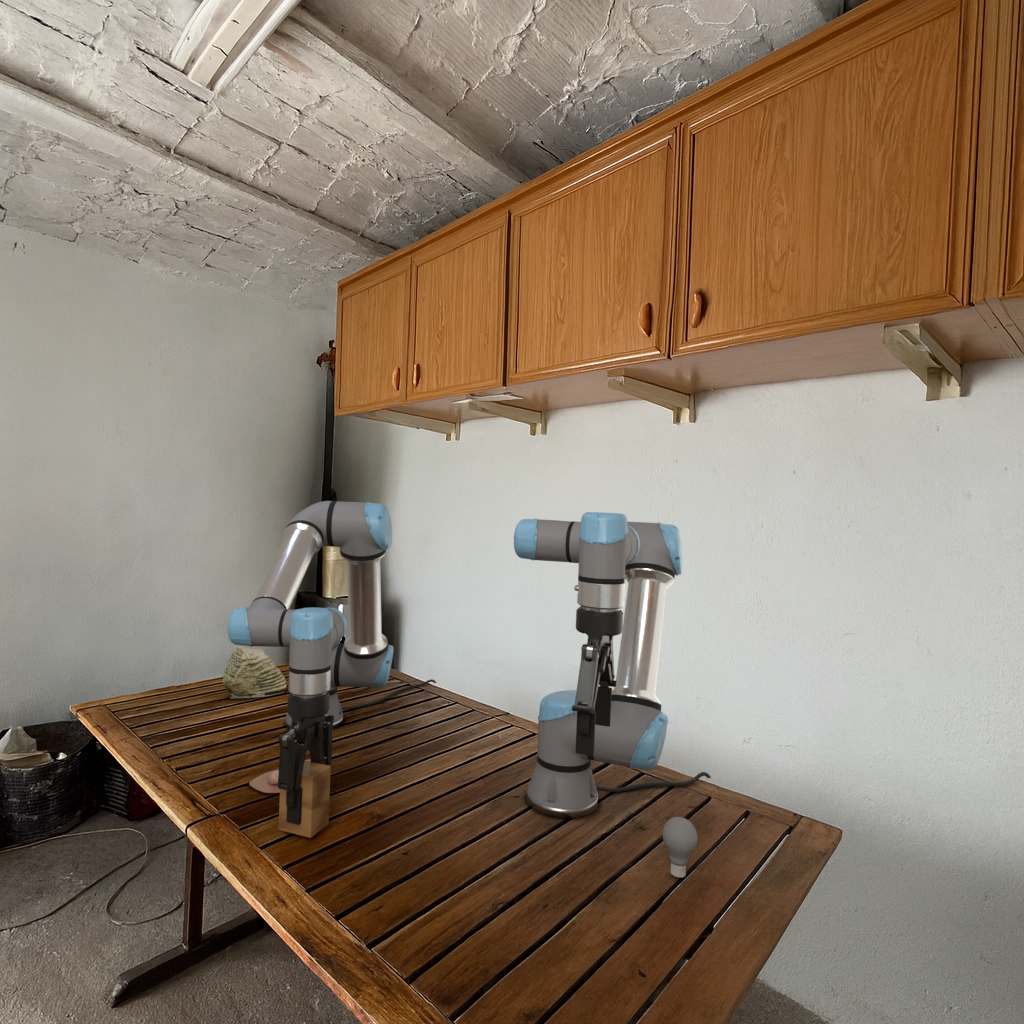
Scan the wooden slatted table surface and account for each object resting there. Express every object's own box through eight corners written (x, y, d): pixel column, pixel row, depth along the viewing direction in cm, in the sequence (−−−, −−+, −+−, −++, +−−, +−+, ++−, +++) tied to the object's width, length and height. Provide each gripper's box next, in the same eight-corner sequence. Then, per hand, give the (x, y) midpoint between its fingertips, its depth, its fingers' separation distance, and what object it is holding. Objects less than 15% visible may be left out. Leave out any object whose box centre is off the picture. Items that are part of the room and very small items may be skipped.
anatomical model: (241, 770, 135) (272, 750, 146) (240, 789, 135) (271, 767, 146) (297, 779, 132) (324, 757, 144) (297, 798, 132) (324, 775, 144)
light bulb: (655, 865, 113) (658, 810, 113) (688, 865, 114) (691, 810, 114) (666, 886, 107) (669, 827, 107) (701, 886, 108) (704, 827, 108)
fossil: (218, 695, 195) (220, 647, 195) (278, 685, 208) (279, 640, 207) (228, 703, 189) (230, 653, 188) (289, 692, 201) (290, 645, 201)
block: (297, 816, 123) (299, 759, 123) (328, 823, 120) (330, 765, 120) (278, 829, 118) (280, 770, 117) (310, 838, 115) (312, 777, 115)
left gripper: (322, 676, 128) (318, 790, 129) (257, 703, 111) (253, 834, 111) (354, 681, 126) (349, 797, 126) (293, 709, 108) (288, 843, 109)
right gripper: (593, 595, 115) (587, 711, 115) (557, 617, 92) (550, 763, 92) (634, 599, 113) (628, 718, 113) (608, 623, 89) (601, 772, 89)
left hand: (304, 814), depth 119 cm, fingers closed on block, 5 cm apart
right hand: (593, 738), depth 102 cm, fingers open, 13 cm apart
